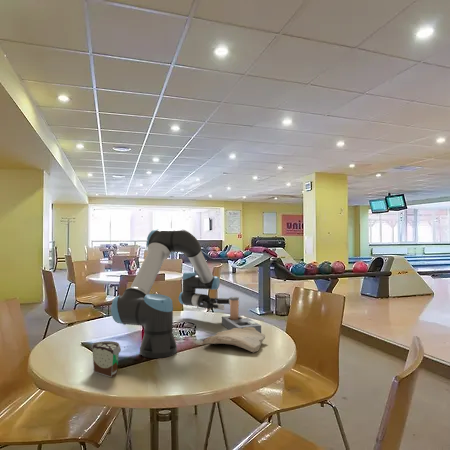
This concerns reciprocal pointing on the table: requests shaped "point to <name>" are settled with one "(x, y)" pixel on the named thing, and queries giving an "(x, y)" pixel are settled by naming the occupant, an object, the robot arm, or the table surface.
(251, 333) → the beige flat rock
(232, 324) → the socket board
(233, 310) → the plug
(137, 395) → the table surface
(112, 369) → the food container
